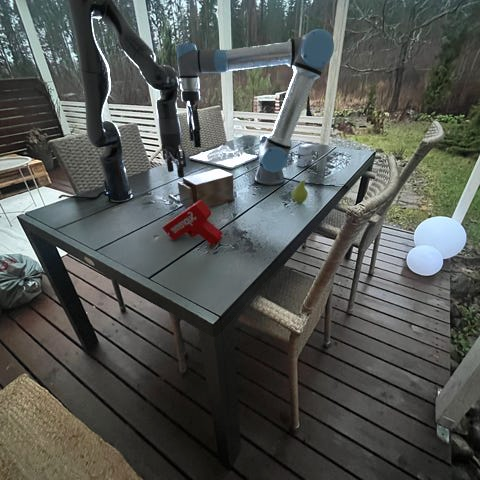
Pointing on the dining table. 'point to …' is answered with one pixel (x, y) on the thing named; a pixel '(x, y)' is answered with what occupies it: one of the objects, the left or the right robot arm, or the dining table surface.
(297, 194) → the fruit
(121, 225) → the dining table surface
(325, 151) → the dining table surface
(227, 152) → the relief map
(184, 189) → the drawer
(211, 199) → the wooden drawer box
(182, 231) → the toy gun
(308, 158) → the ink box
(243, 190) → the dining table surface
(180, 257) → the dining table surface
